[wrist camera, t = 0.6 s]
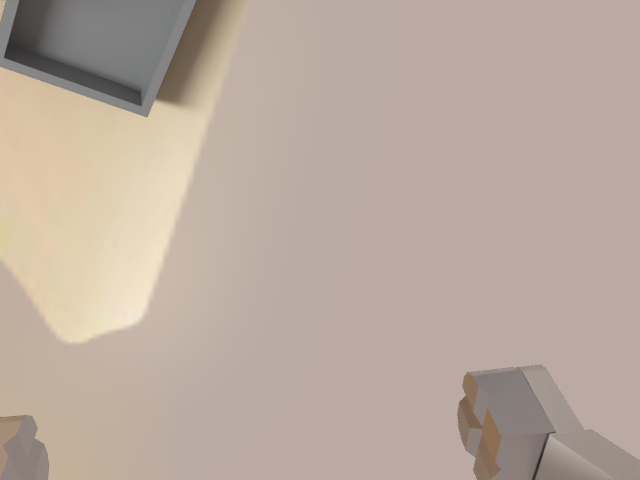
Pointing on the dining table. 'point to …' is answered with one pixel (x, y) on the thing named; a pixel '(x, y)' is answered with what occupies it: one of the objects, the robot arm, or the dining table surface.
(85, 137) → the dining table surface
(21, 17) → the tray
